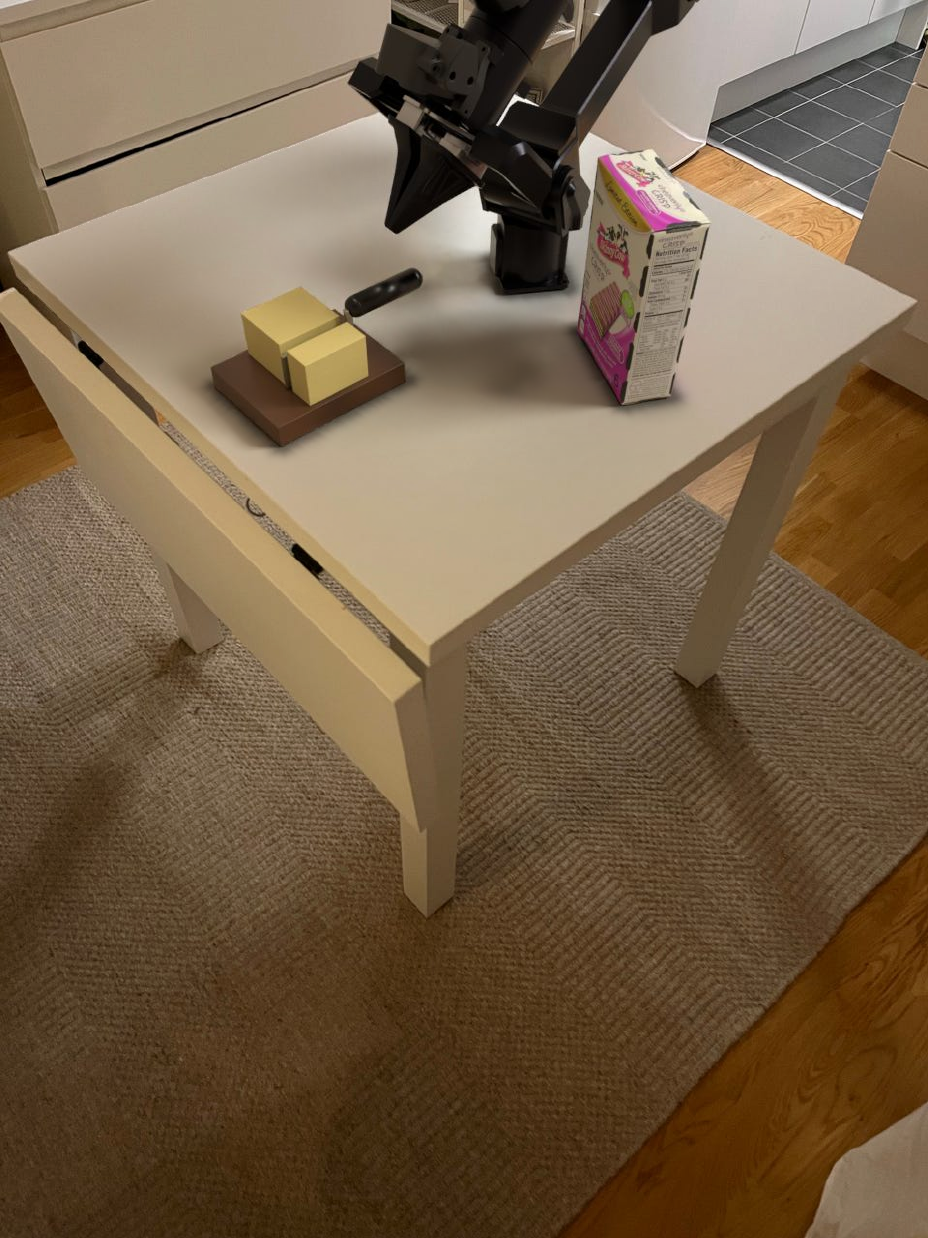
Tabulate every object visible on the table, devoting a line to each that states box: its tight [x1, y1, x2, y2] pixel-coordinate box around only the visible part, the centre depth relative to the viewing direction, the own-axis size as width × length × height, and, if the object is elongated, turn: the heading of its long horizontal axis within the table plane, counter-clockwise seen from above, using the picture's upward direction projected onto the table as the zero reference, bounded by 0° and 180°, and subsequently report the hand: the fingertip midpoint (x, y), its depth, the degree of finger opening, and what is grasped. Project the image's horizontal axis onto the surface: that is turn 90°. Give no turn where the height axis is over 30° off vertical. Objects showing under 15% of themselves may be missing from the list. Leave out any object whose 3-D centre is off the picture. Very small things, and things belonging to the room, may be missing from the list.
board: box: [209, 308, 407, 448], centre depth 82 cm, size 13×10×2 cm
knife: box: [281, 267, 424, 388], centre depth 80 cm, size 14×2×5 cm, turn 131°
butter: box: [240, 286, 368, 406], centre depth 80 cm, size 6×9×4 cm, turn 41°
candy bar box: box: [576, 148, 712, 406], centre depth 79 cm, size 11×5×16 cm, turn 17°
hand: (390, 230), depth 76 cm, fingers closed
